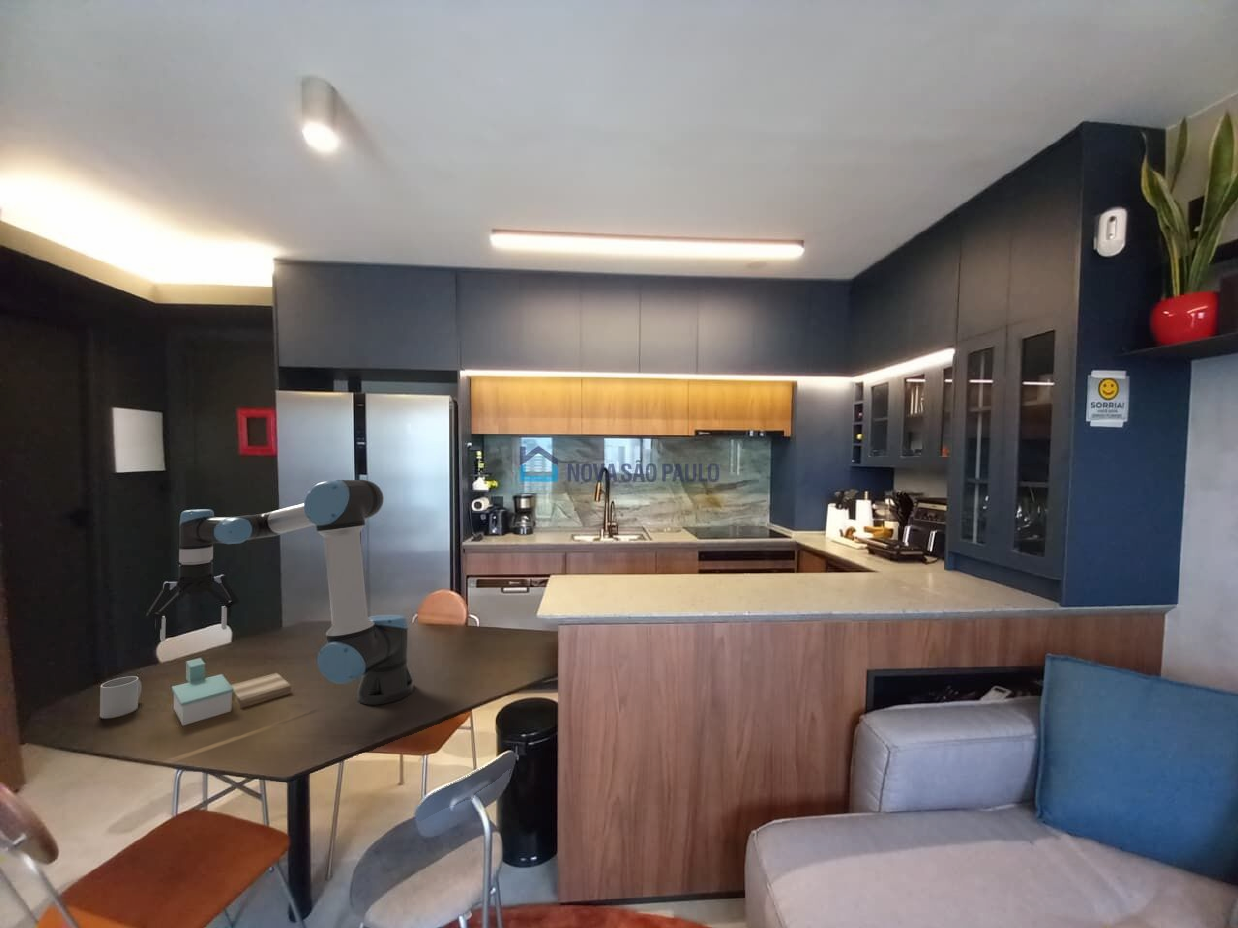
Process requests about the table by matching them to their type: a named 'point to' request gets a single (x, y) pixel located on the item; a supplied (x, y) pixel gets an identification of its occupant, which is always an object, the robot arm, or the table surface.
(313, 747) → the table surface
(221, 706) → the tub
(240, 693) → the wooden block
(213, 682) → the lid
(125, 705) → the cup
